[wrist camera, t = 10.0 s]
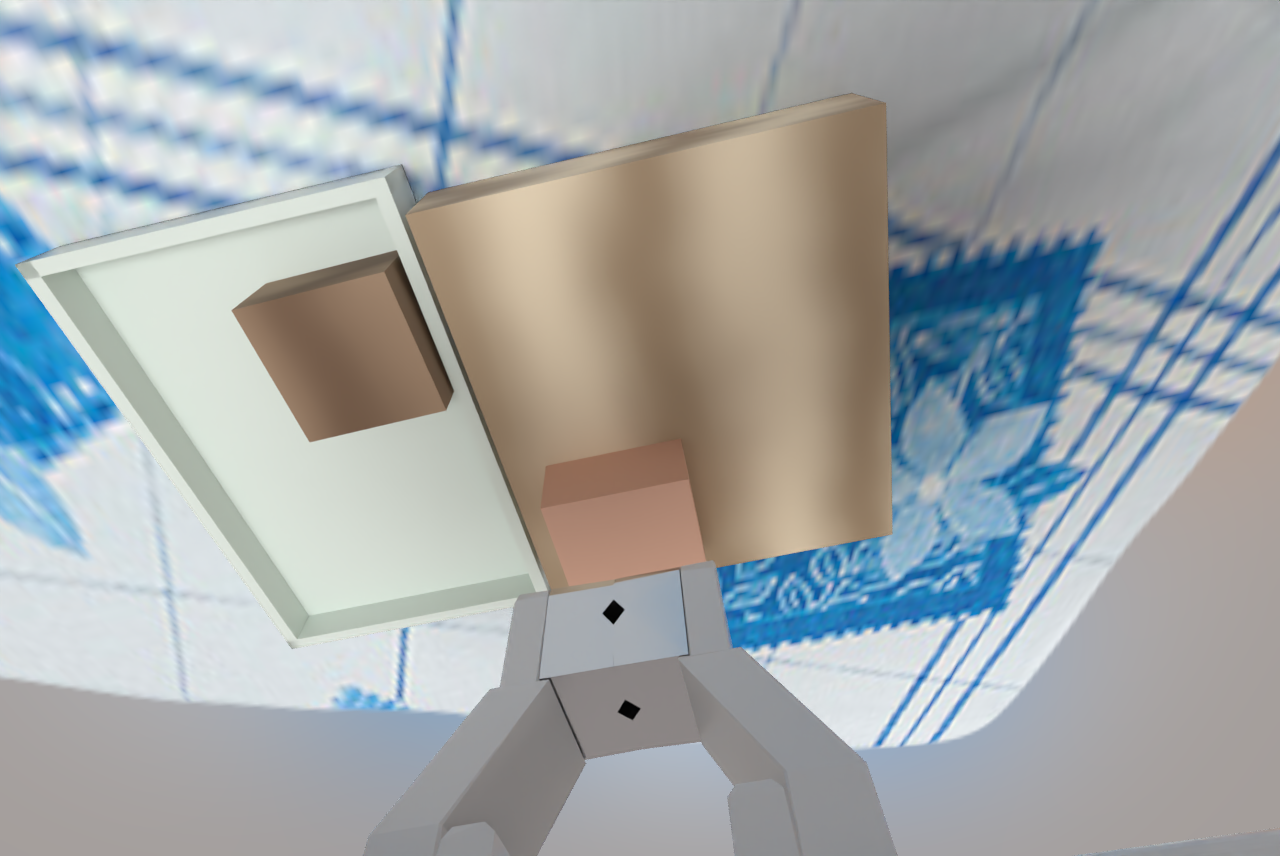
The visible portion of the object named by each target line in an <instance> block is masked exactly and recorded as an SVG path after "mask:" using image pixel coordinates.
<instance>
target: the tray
mask: <svg viewBox="0 0 1280 856" xmlns="http://www.w3.org/2000/svg"><path fill="white" fill-rule="evenodd" d="M415 205H416V201H415V198H414V196H413V193H412V191H411V188H410V185H409V183H408V180H407V177H406V175H405V172H404V169H403V167H402V165H399V166H394V167H390V168H386V169H382V170H378V171H373V172H369V173H365V174H361V175H357V176H352V177H348V178H344V179H340V180H336V181H331V182H327V183H323V184H319V185H315V186H310V187H306V188H302V189H298V190H294V191H290V192H285V193H281V194H277V195H273V196H269V197H264V198H260V199H256V200H252V201H248V202H243V203H239V204H235V205H231V206H227V207H222V208H218V209H214V210H210V211H206V212H201V213H197V214H193V215H189V216H185V217H181V218H176V219H172V220H168V221H164V222H160V223H155V224H151V225H147V226H143V227H139V228H134V229H130V230H126V231H122V232H118V233H113V234H109V235H105V236H101V237H97V238H92V239H88V240H84V241H80V242H76V243H72V244H67V245H63V246H59V247H57V248H54V249H52V250H50V251H47V252H45V253H42V254H40V255H38V256H35V257H33V258H30V259H28V260H25V261H23V262H21V263H18V264H16V267H17V268H18V270H19V271H20V272H21V274H22V275H23V277H24V278H25V279H26V281H27V282H28V284H29V285H30V286H31V288H32V289H33V290H34V292H35V293H36V295H37V296H38V297H39V299H40V300H41V302H42V303H43V304H44V306H45V307H46V308H47V310H48V311H49V313H50V314H51V315H52V317H53V318H54V320H55V321H56V322H57V324H58V325H59V327H60V328H61V329H62V331H63V332H64V333H65V335H66V336H67V338H68V339H69V340H70V342H71V343H72V345H73V346H74V347H75V349H76V350H77V352H78V353H79V354H80V356H81V357H82V358H83V360H84V361H85V363H86V364H87V365H88V367H89V368H90V370H91V371H92V372H93V374H94V375H95V376H96V378H97V379H98V381H99V382H100V383H101V385H102V386H103V388H104V389H105V390H106V392H107V393H108V395H109V396H110V397H111V399H112V400H113V401H114V403H115V404H116V406H117V407H118V408H119V410H120V411H121V413H122V414H123V415H124V417H125V418H126V419H127V421H128V422H129V424H130V425H131V426H132V428H133V429H134V431H135V432H136V433H137V435H138V436H139V438H140V439H141V440H142V442H143V443H144V444H145V446H146V447H147V449H148V450H149V451H150V453H151V454H152V456H153V457H154V458H155V460H156V461H157V463H158V464H159V465H160V467H161V468H162V469H163V471H164V472H165V474H166V475H167V476H168V478H169V479H170V481H171V482H172V483H173V485H174V486H175V487H176V489H177V490H178V492H179V493H180V494H181V496H182V497H183V499H184V500H185V501H186V503H187V504H188V506H189V507H190V508H191V510H192V511H193V512H194V514H195V515H196V517H197V518H198V519H199V521H200V522H201V524H202V525H203V526H204V528H205V529H206V531H207V532H208V533H209V535H210V536H211V537H212V539H213V540H214V542H215V543H216V544H217V546H218V547H219V549H220V550H221V551H222V553H223V554H224V555H225V557H226V558H227V560H228V561H229V562H230V564H231V565H232V567H233V568H234V569H235V571H236V572H237V574H238V575H239V576H240V578H241V579H242V580H243V582H244V583H245V585H246V586H247V587H248V589H249V590H250V592H251V593H252V594H253V596H254V597H255V598H256V600H257V601H258V603H259V604H260V605H261V607H262V608H263V610H264V611H265V612H266V614H267V615H268V617H269V618H270V619H271V621H272V622H273V623H274V625H275V626H276V628H277V629H278V630H279V632H280V633H281V635H282V636H283V637H284V639H285V640H286V642H287V643H288V644H289V646H290V647H291V648H292V649H295V648H300V647H305V646H311V645H316V644H321V643H327V642H332V641H337V640H342V639H348V638H353V637H358V636H363V635H369V634H374V633H379V632H384V631H390V630H395V629H400V628H405V627H411V626H416V625H421V624H426V623H432V622H437V621H442V620H447V619H453V618H458V617H463V616H468V615H474V614H479V613H484V612H489V611H495V610H500V609H505V608H511V607H514V603H515V602H516V600H517V598H518V596H519V595H521V594H528V593H535V592H541V591H548V590H551V588H550V585H549V583H548V580H547V578H546V575H545V573H544V570H543V567H542V565H541V562H540V560H539V557H538V555H537V552H536V550H535V547H534V544H533V542H532V539H531V537H530V534H529V532H528V529H527V526H526V524H525V521H524V519H523V516H522V514H521V511H520V508H519V506H518V503H517V501H516V498H515V496H514V493H513V490H512V488H511V485H510V483H509V480H508V478H507V475H506V473H505V470H504V467H503V465H502V462H501V460H500V457H499V455H498V452H497V449H496V447H495V444H494V442H493V439H492V437H491V434H490V431H489V429H488V426H487V424H486V421H485V419H484V416H483V413H482V411H481V408H480V406H479V403H478V401H477V398H476V396H475V393H474V390H473V388H472V385H471V383H470V380H469V378H468V375H467V372H466V370H465V367H464V365H463V362H462V360H461V357H460V354H459V352H458V349H457V347H456V344H455V342H454V339H453V336H452V334H451V331H450V329H449V326H448V324H447V321H446V319H445V316H444V313H443V311H442V308H441V306H440V303H439V301H438V298H437V295H436V293H435V290H434V288H433V285H432V283H431V280H430V277H429V275H428V272H427V270H426V267H425V265H424V262H423V259H422V257H421V254H420V252H419V249H418V247H417V244H416V242H415V239H414V236H413V234H412V231H411V229H410V226H409V224H408V221H407V218H406V216H405V215H406V214H407V213H408V212H409V211H410V210H411V209H412V208H413V207H414V206H415ZM395 250H397V252H398V254H399V257H400V259H401V262H402V264H403V267H404V269H405V272H406V274H407V276H408V279H409V281H410V284H411V286H412V289H413V291H414V294H415V296H416V299H417V301H418V303H419V306H420V308H421V311H422V313H423V316H424V318H425V321H426V323H427V326H428V328H429V330H430V333H431V335H432V338H433V340H434V343H435V345H436V348H437V350H438V353H439V355H440V357H441V360H442V362H443V365H444V367H445V370H446V372H447V375H448V377H449V380H450V382H451V384H452V387H453V389H454V393H453V395H452V398H451V400H450V403H449V405H448V408H447V410H446V411H442V412H438V413H434V414H430V415H425V416H421V417H417V418H412V419H408V420H404V421H400V422H395V423H391V424H387V425H382V426H378V427H374V428H370V429H365V430H361V431H357V432H352V433H348V434H344V435H339V436H335V437H331V438H327V439H322V440H318V441H314V442H309V441H308V439H307V437H306V436H305V434H304V432H303V431H302V429H301V427H300V426H299V424H298V422H297V421H296V419H295V417H294V415H293V414H292V412H291V410H290V409H289V407H288V405H287V404H286V402H285V400H284V399H283V397H282V395H281V394H280V392H279V390H278V388H277V387H276V385H275V383H274V382H273V380H272V378H271V377H270V375H269V373H268V372H267V370H266V368H265V366H264V365H263V363H262V361H261V360H260V358H259V356H258V355H257V353H256V351H255V350H254V348H253V346H252V345H251V343H250V341H249V339H248V338H247V336H246V334H245V333H244V331H243V329H242V328H241V326H240V324H239V323H238V321H237V319H236V318H235V316H234V314H233V312H232V311H231V310H232V309H234V308H235V307H236V306H238V305H239V304H240V303H241V302H243V301H244V300H245V299H247V298H248V297H249V296H250V295H252V294H253V293H254V292H256V291H257V290H258V289H259V288H261V287H262V286H263V285H265V284H266V283H269V282H273V281H277V280H281V279H285V278H289V277H293V276H297V275H301V274H305V273H309V272H312V271H316V270H320V269H324V268H328V267H332V266H336V265H340V264H344V263H348V262H352V261H356V260H360V259H364V258H367V257H371V256H375V255H379V254H383V253H387V252H391V251H395Z"/></svg>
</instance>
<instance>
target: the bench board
mask: <svg viewBox="0 0 1280 856" xmlns="http://www.w3.org/2000/svg"><path fill="white" fill-rule="evenodd" d="M405 216H406V218H407V221H408V224H409V226H410V229H411V231H412V234H413V236H414V239H415V242H416V244H417V247H418V249H419V252H420V254H421V257H422V259H423V262H424V265H425V267H426V270H427V272H428V275H429V277H430V280H431V283H432V285H433V288H434V290H435V293H436V295H437V298H438V301H439V303H440V306H441V308H442V311H443V313H444V316H445V319H446V321H447V324H448V326H449V329H450V331H451V334H452V336H453V339H454V342H455V344H456V347H457V349H458V352H459V354H460V357H461V360H462V362H463V365H464V367H465V370H466V372H467V375H468V378H469V380H470V383H471V385H472V388H473V390H474V393H475V396H476V398H477V401H478V403H479V406H480V408H481V411H482V413H483V416H484V419H485V421H486V424H487V426H488V429H489V431H490V434H491V437H492V439H493V442H494V444H495V447H496V449H497V452H498V455H499V457H500V460H501V462H502V465H503V467H504V470H505V473H506V475H507V478H508V480H509V483H510V485H511V488H512V490H513V493H514V496H515V498H516V501H517V503H518V506H519V508H520V511H521V514H522V516H523V519H524V521H525V524H526V526H527V529H528V532H529V534H530V537H531V539H532V542H533V544H534V547H535V550H536V552H537V555H538V557H539V560H540V562H541V565H542V567H543V570H544V573H545V575H546V578H547V580H548V583H549V585H550V588H551V590H552V589H556V588H562V587H569V585H568V582H567V579H566V577H565V574H564V571H563V568H562V566H561V563H560V560H559V558H558V555H557V552H556V549H555V547H554V544H553V541H552V539H551V536H550V533H549V530H548V528H547V525H546V522H545V520H544V517H543V514H542V511H541V501H542V493H543V485H544V477H545V469H546V466H548V465H553V464H558V463H563V462H568V461H573V460H578V459H583V458H587V457H592V456H597V455H602V454H607V453H612V452H617V451H622V450H627V449H632V448H636V447H641V446H646V445H651V444H656V443H661V442H666V441H671V440H676V439H681V442H682V446H683V451H684V456H685V461H686V465H687V470H688V475H689V479H690V484H691V489H692V494H693V498H694V503H695V508H696V512H697V517H698V522H699V527H700V531H701V536H702V541H703V546H704V551H705V556H706V561H711V560H713V561H714V562H715V565H716V568H718V567H723V566H728V565H733V564H739V563H744V562H749V561H754V560H760V559H765V558H770V557H776V556H781V555H786V554H791V553H797V552H802V551H807V550H812V549H818V548H823V547H828V546H833V545H839V544H844V543H849V542H854V541H860V540H865V539H870V538H875V537H881V536H886V535H891V534H892V474H891V406H890V338H889V269H888V201H887V132H886V103H885V102H881V101H878V100H874V99H871V98H867V97H864V96H860V95H856V94H853V93H850V94H846V95H841V96H837V97H833V98H829V99H824V100H820V101H816V102H812V103H807V104H803V105H799V106H795V107H790V108H786V109H782V110H778V111H773V112H769V113H765V114H761V115H756V116H752V117H748V118H744V119H739V120H735V121H731V122H727V123H722V124H718V125H714V126H710V127H705V128H701V129H697V130H692V131H688V132H684V133H680V134H675V135H671V136H667V137H663V138H658V139H654V140H650V141H646V142H641V143H637V144H633V145H629V146H624V147H620V148H616V149H612V150H607V151H603V152H599V153H595V154H590V155H586V156H582V157H578V158H573V159H569V160H565V161H561V162H556V163H552V164H548V165H544V166H539V167H535V168H531V169H527V170H522V171H518V172H514V173H509V174H505V175H501V176H497V177H492V178H488V179H484V180H480V181H475V182H471V183H467V184H463V185H458V186H454V187H450V188H446V189H441V190H437V191H433V192H429V193H427V194H426V195H425V196H424V197H423V198H422V199H421V200H420V201H419V202H418V203H417V204H416V205H415V206H414V207H413V208H412V209H411V210H410V211H409V212H408V213H407V214H406V215H405Z"/></svg>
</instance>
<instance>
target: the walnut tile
mask: <svg viewBox="0 0 1280 856" xmlns="http://www.w3.org/2000/svg"><path fill="white" fill-rule="evenodd" d="M231 311H232V312H233V314H234V316H235V318H236V319H237V321H238V323H239V324H240V326H241V328H242V329H243V331H244V333H245V334H246V336H247V338H248V339H249V341H250V343H251V345H252V346H253V348H254V350H255V351H256V353H257V355H258V356H259V358H260V360H261V361H262V363H263V365H264V366H265V368H266V370H267V372H268V373H269V375H270V377H271V378H272V380H273V382H274V383H275V385H276V387H277V388H278V390H279V392H280V394H281V395H282V397H283V399H284V400H285V402H286V404H287V405H288V407H289V409H290V410H291V412H292V414H293V415H294V417H295V419H296V421H297V422H298V424H299V426H300V427H301V429H302V431H303V432H304V434H305V436H306V437H307V439H308V441H309V442H314V441H318V440H322V439H327V438H331V437H335V436H339V435H344V434H348V433H352V432H357V431H361V430H365V429H370V428H374V427H378V426H382V425H387V424H391V423H395V422H400V421H404V420H408V419H412V418H417V417H421V416H425V415H430V414H434V413H438V412H442V411H446V410H447V408H448V405H449V403H450V400H451V398H452V395H453V393H454V389H453V387H452V384H451V382H450V380H449V377H448V375H447V372H446V370H445V367H444V365H443V362H442V360H441V357H440V355H439V353H438V350H437V348H436V345H435V343H434V340H433V338H432V335H431V333H430V330H429V328H428V326H427V323H426V321H425V318H424V316H423V313H422V311H421V308H420V306H419V303H418V301H417V299H416V296H415V294H414V291H413V289H412V286H411V284H410V281H409V279H408V276H407V274H406V272H405V269H404V267H403V264H402V262H401V259H400V257H399V254H398V252H397V250H395V251H391V252H387V253H383V254H379V255H375V256H371V257H367V258H364V259H360V260H356V261H352V262H348V263H344V264H340V265H336V266H332V267H328V268H324V269H320V270H316V271H312V272H309V273H305V274H301V275H297V276H293V277H289V278H285V279H281V280H277V281H273V282H269V283H266V284H265V285H263V286H262V287H261V288H259V289H258V290H257V291H256V292H254V293H253V294H252V295H250V296H249V297H248V298H247V299H245V300H244V301H243V302H241V303H240V304H239V305H238V306H236V307H235V308H234V309H232V310H231Z"/></svg>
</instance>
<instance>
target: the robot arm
mask: <svg viewBox="0 0 1280 856" xmlns="http://www.w3.org/2000/svg"><path fill="white" fill-rule="evenodd" d="M694 742H702V745H703V746H704V748H705V749H706V750H707V751H708V753H709V754H710V755H711V757H712V758H713V759H714V761H715V762H716V763H717V764H718V766H719V767H720V768H721V770H722V771H723V772H724V774H725V775H726V776H727V777H728V779H729V780H730V781H731V783H732V784H733V785H734V788H733V789H732V791H731V792H730V794H729V795H728V807H729V814H730V822H731V830H732V838H733V846H734V853H735V856H898V855H897V852H896V849H895V846H894V844H893V840H892V837H891V835H890V831H889V828H888V825H887V822H886V820H885V816H884V814H883V810H882V808H881V804H880V801H879V799H878V795H877V793H876V790H875V787H874V784H873V781H872V778H871V775H870V772H869V769H868V766H867V763H866V762H865V761H864V760H863V759H862V758H861V757H860V756H859V755H858V754H857V753H856V752H855V751H854V750H852V749H851V748H850V747H849V746H848V745H847V744H846V743H845V742H844V741H843V740H842V739H840V738H839V737H838V736H837V735H836V734H835V733H834V732H833V731H832V730H831V729H830V728H828V727H827V726H826V725H825V724H824V723H823V722H822V721H821V720H820V719H819V718H818V717H817V716H815V715H814V714H813V713H812V712H811V711H810V710H809V709H808V708H807V707H806V706H805V705H803V704H802V703H801V702H800V701H799V700H798V699H797V698H796V697H795V696H794V695H793V694H791V693H790V692H789V691H788V690H787V689H786V688H785V687H784V686H783V685H782V684H781V683H779V682H778V681H777V680H776V679H775V678H774V677H773V676H772V675H771V674H770V673H769V672H767V671H766V670H765V669H764V668H763V667H762V666H761V665H760V664H759V663H758V662H757V661H755V660H754V659H753V658H752V657H751V656H750V655H749V654H748V653H747V652H746V651H745V650H743V649H742V648H741V647H739V648H733V647H732V642H731V637H730V632H729V628H728V623H727V618H726V613H725V608H724V603H723V599H722V594H721V589H720V584H719V579H718V575H717V570H716V565H715V562H714V561H713V560H711V561H706V562H701V563H696V564H690V565H685V566H681V568H680V567H676V568H671V569H665V570H660V571H655V572H649V573H644V574H639V575H634V576H628V577H623V578H618V579H614V580H608V581H601V582H595V583H588V584H582V585H575V586H569V587H562V588H556V589H552V590H548V591H541V592H535V593H528V594H521V595H519V596H518V598H517V600H516V602H515V603H514V608H513V614H512V620H511V626H510V631H509V637H508V643H507V648H506V654H505V660H504V666H503V671H502V677H501V683H500V687H499V688H494V689H490V690H489V691H488V692H487V693H486V695H485V696H484V697H483V698H482V699H481V701H480V702H479V703H478V704H477V705H476V707H475V708H474V709H473V710H472V711H471V713H470V714H469V715H468V716H467V718H466V719H465V720H464V721H463V723H462V724H461V725H460V726H459V727H458V729H457V730H456V731H455V732H454V733H453V734H452V736H451V737H450V738H449V739H448V741H447V742H446V743H445V744H444V746H443V747H442V748H441V749H440V750H439V751H438V753H437V754H436V755H435V756H434V757H433V759H432V760H431V761H430V762H429V764H428V765H427V766H426V767H425V768H424V770H423V771H422V772H421V773H420V774H419V776H418V777H417V778H416V779H415V780H414V782H413V783H412V784H411V785H410V787H409V788H408V789H407V790H406V791H405V793H404V794H403V795H402V796H401V797H400V799H399V800H398V801H397V802H396V803H395V805H394V806H393V807H392V808H391V810H390V811H389V812H388V814H386V816H385V817H384V818H383V819H382V820H381V822H380V823H379V824H378V825H377V826H376V828H375V829H374V830H373V831H372V833H371V834H370V835H369V837H368V841H367V844H366V847H365V850H364V854H363V856H537V855H538V853H539V851H540V849H541V847H542V845H543V843H544V842H545V840H546V838H547V836H548V834H549V832H550V830H551V828H552V827H553V824H554V823H555V821H556V819H557V817H558V815H559V813H560V811H561V810H562V808H563V806H564V804H565V802H566V800H567V798H568V796H569V795H570V793H571V791H572V789H573V787H574V785H575V783H576V781H577V779H578V778H579V776H580V774H581V772H582V770H583V768H584V766H585V764H586V763H585V760H586V759H592V758H597V757H603V756H608V755H614V754H619V753H624V752H630V751H635V750H640V749H647V748H654V747H663V746H671V745H679V744H687V743H694ZM1076 856H1280V828H1275V829H1268V830H1260V831H1253V832H1246V833H1238V834H1231V835H1224V836H1216V837H1209V838H1201V839H1194V840H1186V841H1179V842H1172V843H1164V844H1157V845H1150V846H1143V847H1135V848H1128V849H1120V850H1113V851H1106V852H1099V853H1091V854H1084V855H1076Z"/></svg>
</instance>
